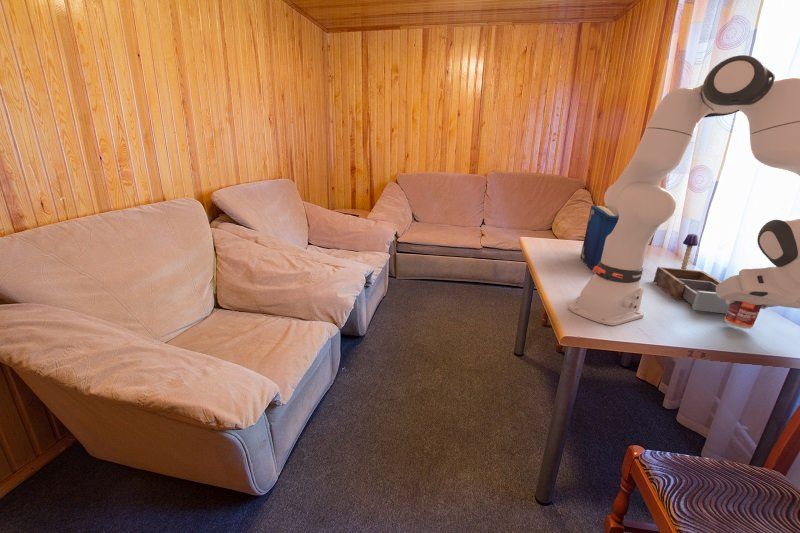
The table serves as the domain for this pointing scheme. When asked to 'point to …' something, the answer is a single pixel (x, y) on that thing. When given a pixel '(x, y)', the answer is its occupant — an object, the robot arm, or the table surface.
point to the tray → (703, 296)
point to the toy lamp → (689, 248)
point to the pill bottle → (742, 314)
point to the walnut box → (673, 285)
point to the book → (597, 234)
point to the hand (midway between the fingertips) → (743, 304)
